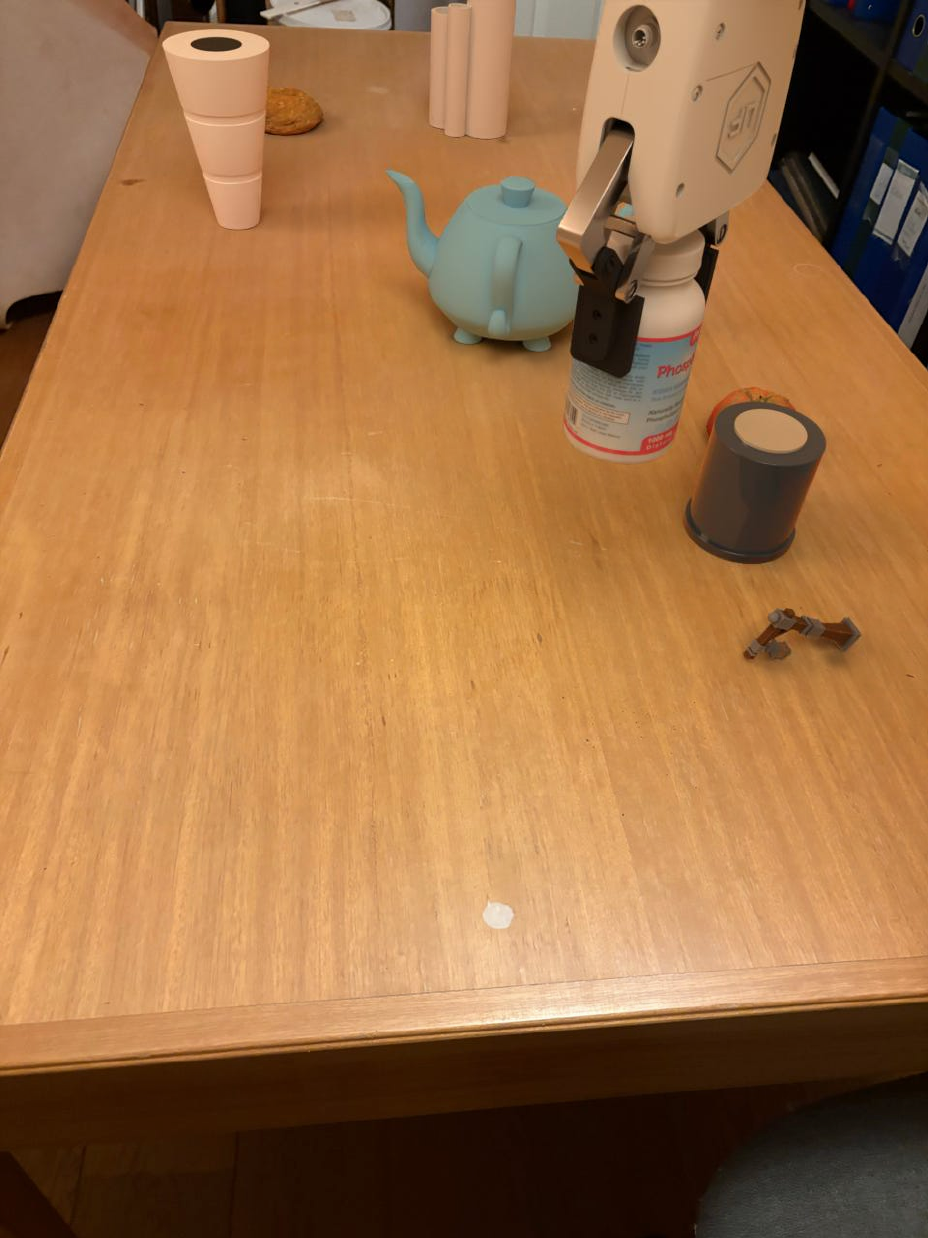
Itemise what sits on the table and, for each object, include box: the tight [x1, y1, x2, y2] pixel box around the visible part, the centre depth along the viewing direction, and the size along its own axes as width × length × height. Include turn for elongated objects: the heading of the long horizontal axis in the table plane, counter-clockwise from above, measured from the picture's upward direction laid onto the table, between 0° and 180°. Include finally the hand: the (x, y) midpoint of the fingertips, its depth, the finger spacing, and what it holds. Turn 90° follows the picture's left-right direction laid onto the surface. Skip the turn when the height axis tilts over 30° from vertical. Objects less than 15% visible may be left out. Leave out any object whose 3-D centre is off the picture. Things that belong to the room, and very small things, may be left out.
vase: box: [428, 0, 517, 140], centre depth 125 cm, size 11×7×20 cm, turn 82°
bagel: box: [264, 86, 324, 136], centre depth 128 cm, size 10×11×5 cm
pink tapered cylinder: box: [162, 28, 270, 231], centre depth 101 cm, size 11×11×18 cm
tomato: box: [705, 386, 797, 439], centre depth 81 cm, size 8×7×7 cm
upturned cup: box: [682, 402, 827, 565], centre depth 70 cm, size 9×9×9 cm
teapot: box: [385, 169, 634, 353], centre depth 89 cm, size 16×20×14 cm
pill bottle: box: [562, 215, 706, 466], centre depth 47 cm, size 6×6×11 cm
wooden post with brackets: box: [743, 607, 863, 661], centre depth 63 cm, size 2×8×4 cm, turn 106°
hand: (637, 337), depth 47 cm, fingers closed on pill bottle, 6 cm apart
